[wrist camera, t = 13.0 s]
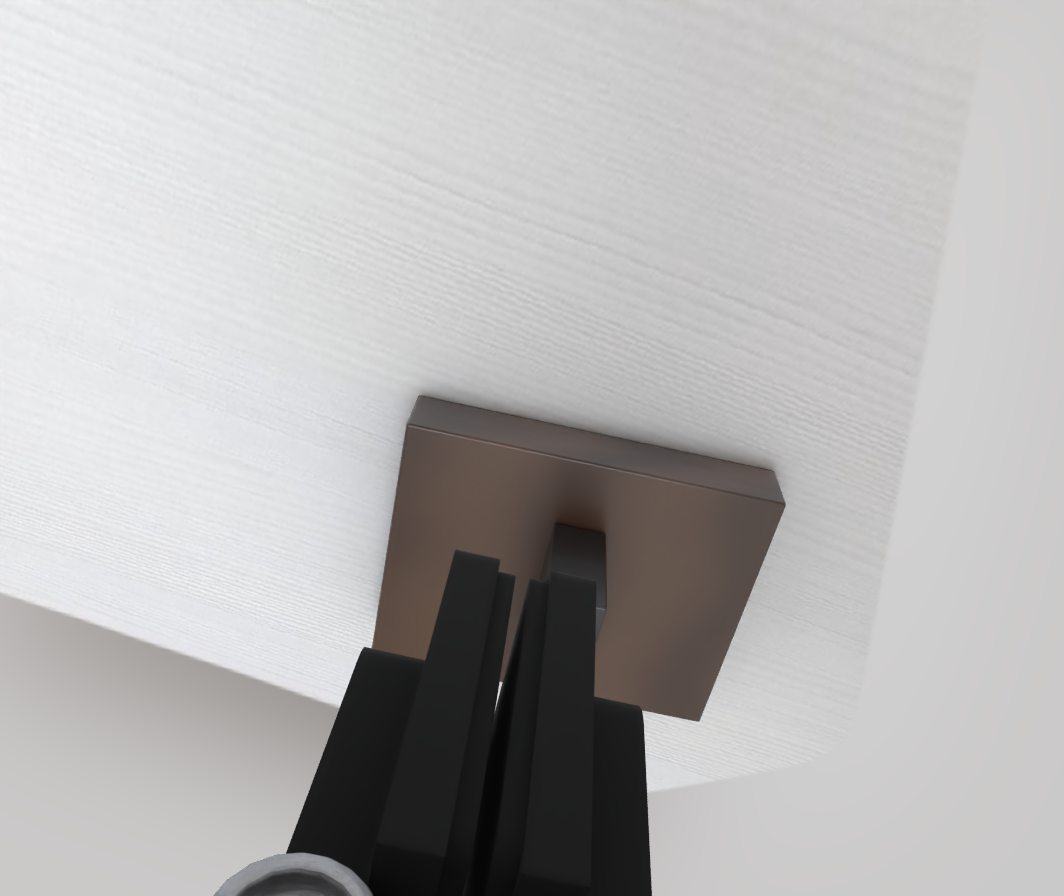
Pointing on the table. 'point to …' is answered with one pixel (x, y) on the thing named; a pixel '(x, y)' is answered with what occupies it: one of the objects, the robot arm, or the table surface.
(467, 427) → the plate
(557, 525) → the lock knob
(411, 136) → the table surface
